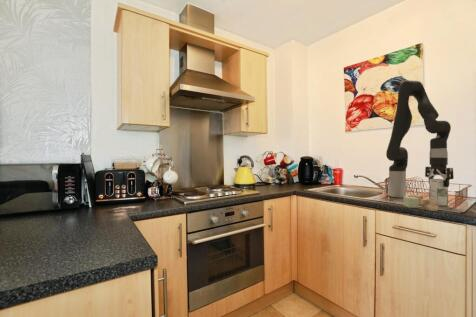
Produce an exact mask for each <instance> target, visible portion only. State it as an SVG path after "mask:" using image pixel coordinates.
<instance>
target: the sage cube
mask: <svg viewBox="0 0 476 317" xmlns="http://www.w3.org/2000/svg"><path fill="white" fill-rule="evenodd" d="M402 201H403V206H404V207H406V208H417V209H418V208H420V205H419V198H416V197H408V196H406V197H403V200H402Z"/></svg>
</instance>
